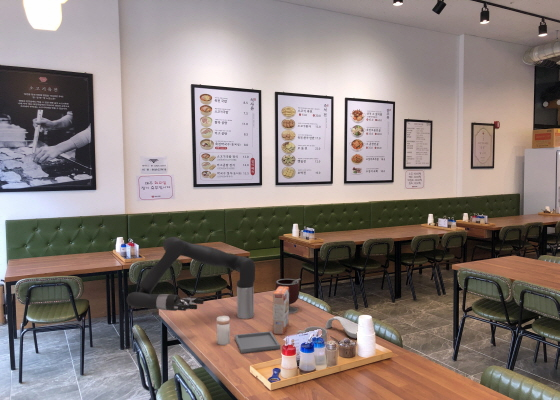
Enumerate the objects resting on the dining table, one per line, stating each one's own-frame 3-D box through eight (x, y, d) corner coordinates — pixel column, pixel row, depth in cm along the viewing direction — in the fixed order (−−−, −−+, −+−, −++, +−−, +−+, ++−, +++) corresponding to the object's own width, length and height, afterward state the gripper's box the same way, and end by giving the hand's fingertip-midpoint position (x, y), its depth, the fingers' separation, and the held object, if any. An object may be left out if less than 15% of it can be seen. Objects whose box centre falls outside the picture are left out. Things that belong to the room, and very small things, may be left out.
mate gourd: (270, 311, 255) (270, 277, 254) (283, 305, 267) (283, 272, 266) (294, 316, 247) (294, 281, 246) (306, 309, 259) (306, 276, 257)
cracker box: (284, 335, 219) (284, 293, 218) (272, 334, 221) (272, 293, 219) (289, 325, 233) (289, 286, 232) (278, 324, 234) (278, 285, 233)
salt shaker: (216, 340, 212) (215, 316, 212) (228, 339, 214) (228, 315, 213) (217, 345, 206) (217, 320, 206) (230, 344, 208) (230, 319, 207)
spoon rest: (373, 336, 218) (373, 322, 218) (360, 343, 209) (361, 328, 209) (333, 325, 234) (333, 311, 233) (320, 331, 225) (320, 317, 225)
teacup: (329, 344, 208) (329, 327, 207) (324, 353, 198) (324, 336, 197) (300, 340, 212) (300, 324, 212) (294, 349, 202) (294, 332, 202)
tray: (234, 338, 215) (234, 334, 215) (270, 335, 219) (270, 331, 219) (241, 353, 197) (241, 349, 197) (280, 349, 202) (280, 345, 202)
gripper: (161, 298, 206) (194, 300, 204) (174, 290, 220) (205, 292, 218) (161, 314, 207) (194, 316, 204) (174, 305, 221) (205, 307, 218)
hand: (200, 304), depth 211 cm, fingers open, 8 cm apart
